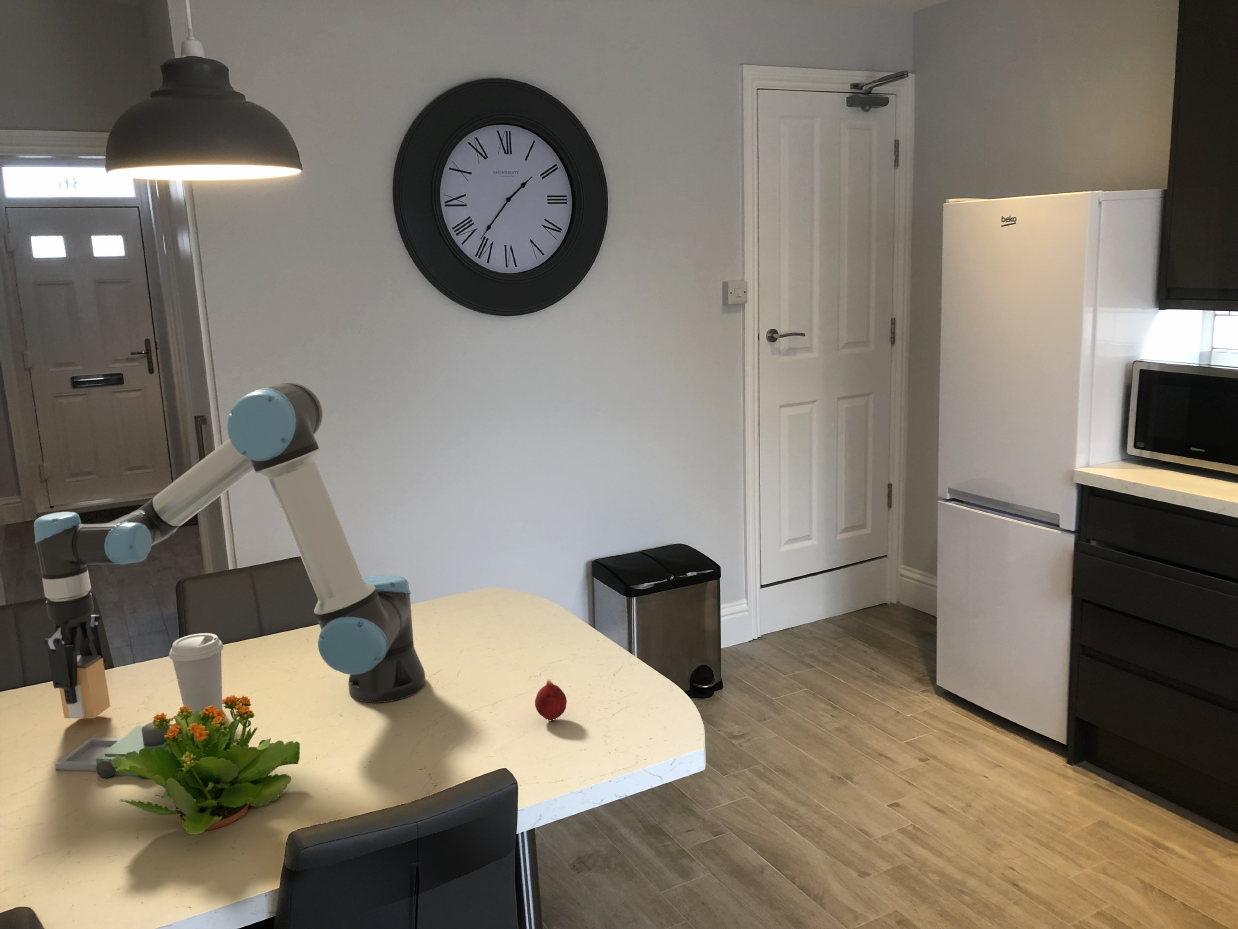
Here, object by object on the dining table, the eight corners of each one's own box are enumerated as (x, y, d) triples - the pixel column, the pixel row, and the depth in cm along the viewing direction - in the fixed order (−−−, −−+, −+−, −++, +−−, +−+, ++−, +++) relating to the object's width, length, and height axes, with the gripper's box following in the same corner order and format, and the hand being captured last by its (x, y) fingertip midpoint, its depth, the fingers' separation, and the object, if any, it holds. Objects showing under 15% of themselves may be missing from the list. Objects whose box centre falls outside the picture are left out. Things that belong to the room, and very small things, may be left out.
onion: (572, 716, 177) (571, 676, 176) (558, 730, 172) (556, 689, 171) (545, 711, 180) (543, 672, 178) (530, 725, 175) (528, 684, 173)
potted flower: (265, 859, 136) (252, 746, 133) (94, 871, 135) (77, 758, 131) (307, 770, 161) (297, 673, 157) (163, 780, 159) (150, 683, 156)
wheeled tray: (199, 739, 173) (195, 708, 172) (156, 779, 160) (151, 746, 158) (98, 737, 175) (94, 707, 174) (47, 777, 161) (42, 744, 160)
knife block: (110, 706, 184) (102, 655, 182) (94, 718, 180) (85, 665, 177) (81, 706, 185) (72, 655, 183) (64, 718, 180) (55, 665, 178)
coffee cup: (211, 727, 178) (202, 651, 175) (166, 724, 180) (156, 649, 177) (241, 704, 187) (232, 632, 184) (197, 702, 189) (188, 630, 186)
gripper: (80, 580, 187) (98, 690, 191) (15, 612, 169) (36, 733, 174) (116, 579, 186) (133, 690, 191) (54, 611, 169) (75, 733, 173)
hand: (87, 710), depth 182 cm, fingers closed on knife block, 5 cm apart
